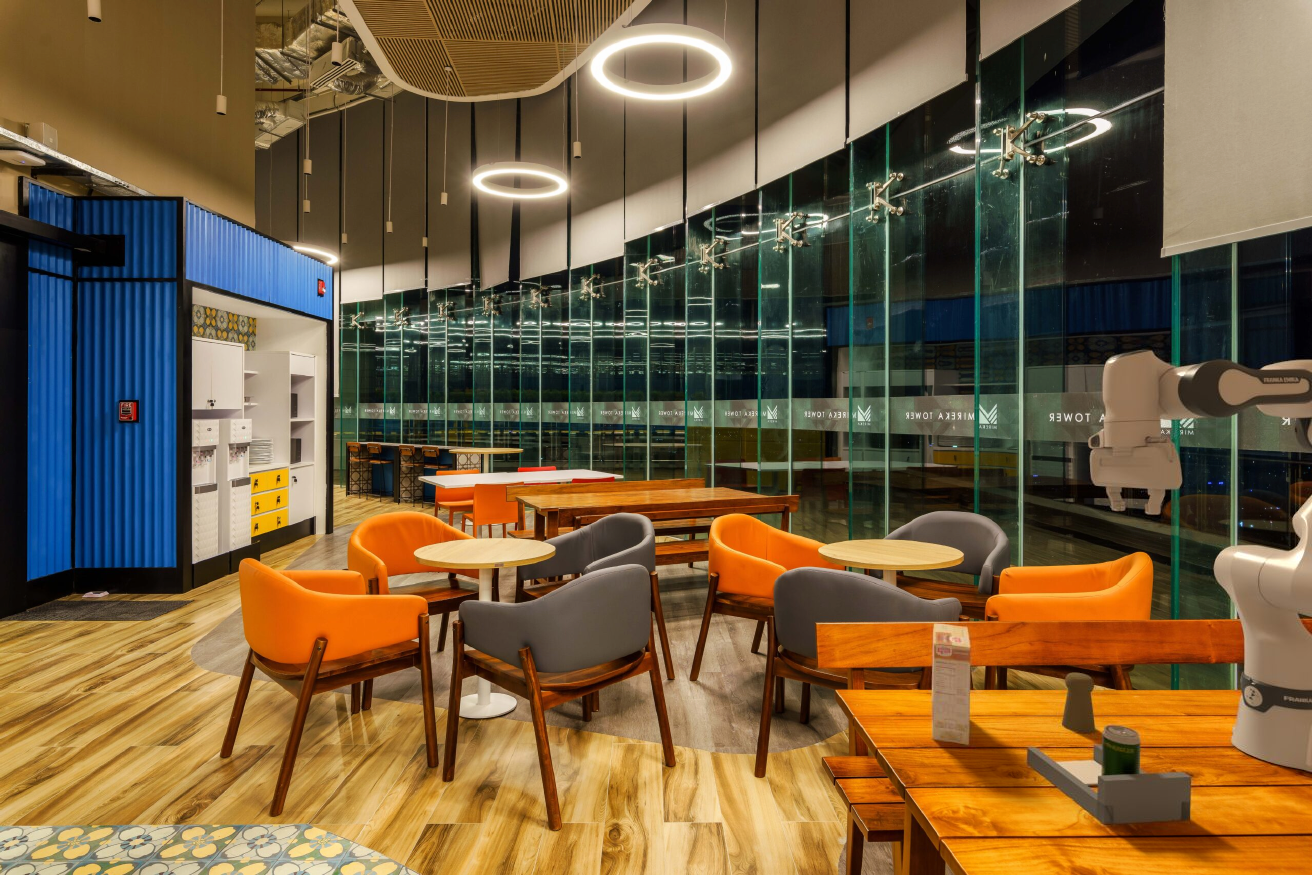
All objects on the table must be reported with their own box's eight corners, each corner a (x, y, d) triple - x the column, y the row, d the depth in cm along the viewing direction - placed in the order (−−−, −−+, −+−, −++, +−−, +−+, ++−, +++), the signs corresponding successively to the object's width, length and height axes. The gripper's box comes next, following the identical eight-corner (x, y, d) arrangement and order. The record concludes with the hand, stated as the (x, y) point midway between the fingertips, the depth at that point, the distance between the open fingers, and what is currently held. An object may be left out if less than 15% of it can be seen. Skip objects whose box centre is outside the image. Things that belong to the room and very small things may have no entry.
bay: (1101, 759, 136) (1102, 723, 135) (1190, 819, 116) (1191, 776, 115) (1026, 763, 134) (1027, 726, 134) (1103, 824, 114) (1105, 780, 114)
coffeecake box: (931, 710, 158) (933, 622, 157) (966, 716, 155) (968, 626, 154) (930, 739, 144) (932, 642, 143) (969, 745, 141) (971, 647, 140)
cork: (1100, 734, 146) (1101, 680, 146) (1067, 731, 148) (1069, 678, 147) (1088, 722, 152) (1090, 670, 152) (1057, 719, 154) (1058, 668, 153)
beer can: (1145, 811, 118) (1147, 739, 117) (1109, 809, 119) (1111, 737, 118) (1128, 794, 123) (1130, 725, 123) (1094, 792, 124) (1096, 723, 124)
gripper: (1191, 435, 124) (1194, 516, 123) (1114, 439, 144) (1116, 508, 144) (1154, 436, 124) (1157, 516, 123) (1082, 439, 144) (1085, 508, 144)
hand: (1134, 512), depth 134 cm, fingers open, 8 cm apart
